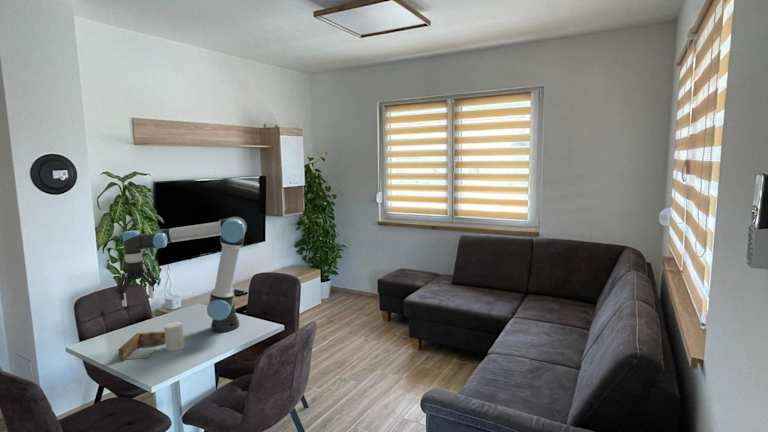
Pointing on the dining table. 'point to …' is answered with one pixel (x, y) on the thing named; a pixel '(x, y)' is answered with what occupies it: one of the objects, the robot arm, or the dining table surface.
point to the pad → (141, 354)
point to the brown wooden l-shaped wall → (140, 342)
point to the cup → (174, 336)
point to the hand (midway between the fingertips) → (138, 301)
